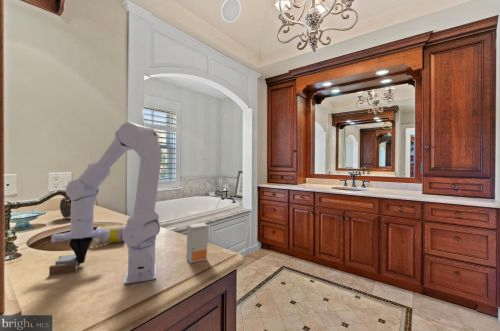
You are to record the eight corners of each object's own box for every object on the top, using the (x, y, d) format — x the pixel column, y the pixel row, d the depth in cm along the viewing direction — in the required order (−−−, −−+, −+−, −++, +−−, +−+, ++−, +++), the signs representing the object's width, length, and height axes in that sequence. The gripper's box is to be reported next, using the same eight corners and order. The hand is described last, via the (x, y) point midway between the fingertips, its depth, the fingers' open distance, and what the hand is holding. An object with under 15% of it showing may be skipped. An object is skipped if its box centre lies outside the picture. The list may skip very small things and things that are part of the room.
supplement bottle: (126, 231, 98) (90, 235, 92) (126, 221, 94) (89, 223, 89) (125, 244, 93) (87, 248, 87) (125, 233, 89) (85, 237, 84)
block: (73, 270, 68) (73, 260, 68) (55, 271, 67) (55, 261, 67) (79, 263, 72) (79, 254, 72) (62, 265, 71) (62, 255, 71)
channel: (75, 272, 67) (75, 263, 67) (49, 275, 64) (49, 267, 64) (82, 261, 74) (82, 253, 74) (59, 263, 72) (60, 256, 72)
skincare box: (190, 263, 74) (191, 227, 74) (186, 259, 78) (187, 224, 78) (207, 260, 78) (208, 225, 77) (202, 255, 81) (203, 222, 81)
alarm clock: (77, 219, 124) (78, 189, 123) (65, 221, 119) (66, 190, 119) (69, 216, 129) (70, 188, 129) (57, 218, 125) (58, 189, 125)
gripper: (111, 214, 77) (110, 254, 77) (58, 217, 71) (57, 260, 71) (107, 219, 70) (106, 262, 71) (48, 223, 65) (47, 270, 65)
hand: (81, 262), depth 71 cm, fingers closed
